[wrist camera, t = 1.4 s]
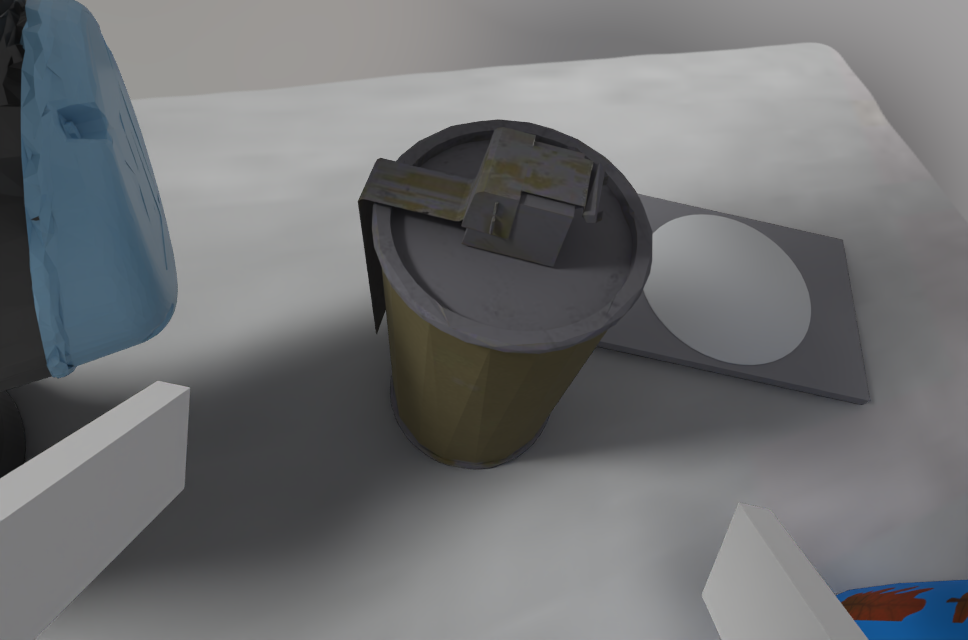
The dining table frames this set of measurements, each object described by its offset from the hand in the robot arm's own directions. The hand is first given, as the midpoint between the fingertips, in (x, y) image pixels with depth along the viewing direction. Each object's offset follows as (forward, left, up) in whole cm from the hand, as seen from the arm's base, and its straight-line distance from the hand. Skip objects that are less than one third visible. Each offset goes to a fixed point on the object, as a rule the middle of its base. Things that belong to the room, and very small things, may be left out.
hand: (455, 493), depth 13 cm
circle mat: (+17, +22, -20) cm, 34 cm away
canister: (0, +10, -20) cm, 22 cm away
